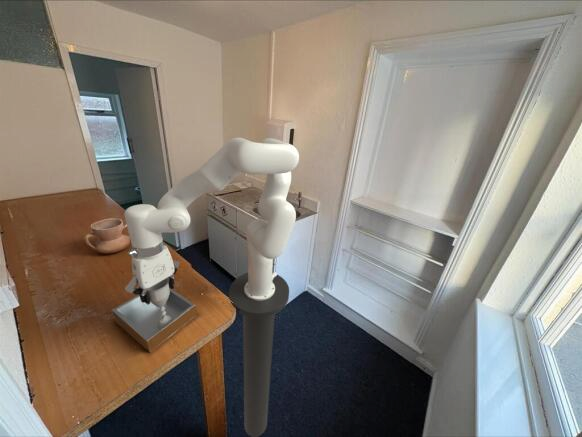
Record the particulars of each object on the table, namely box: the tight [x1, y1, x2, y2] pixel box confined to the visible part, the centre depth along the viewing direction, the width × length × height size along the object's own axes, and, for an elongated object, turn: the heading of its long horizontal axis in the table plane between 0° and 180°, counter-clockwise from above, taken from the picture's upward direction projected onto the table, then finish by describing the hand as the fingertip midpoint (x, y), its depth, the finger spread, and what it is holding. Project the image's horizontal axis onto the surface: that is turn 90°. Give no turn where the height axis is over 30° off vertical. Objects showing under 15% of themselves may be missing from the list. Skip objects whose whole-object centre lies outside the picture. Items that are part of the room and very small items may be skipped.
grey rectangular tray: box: [111, 288, 198, 353], centre depth 80 cm, size 17×20×5 cm
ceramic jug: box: [84, 217, 131, 255], centre depth 112 cm, size 18×14×14 cm
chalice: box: [146, 277, 172, 329], centre depth 75 cm, size 7×7×18 cm
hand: (158, 294), depth 73 cm, fingers closed on chalice, 7 cm apart
